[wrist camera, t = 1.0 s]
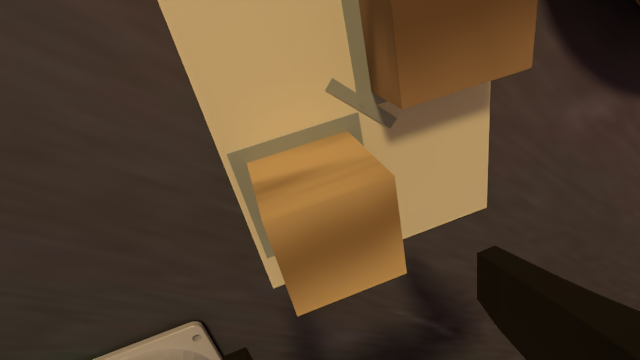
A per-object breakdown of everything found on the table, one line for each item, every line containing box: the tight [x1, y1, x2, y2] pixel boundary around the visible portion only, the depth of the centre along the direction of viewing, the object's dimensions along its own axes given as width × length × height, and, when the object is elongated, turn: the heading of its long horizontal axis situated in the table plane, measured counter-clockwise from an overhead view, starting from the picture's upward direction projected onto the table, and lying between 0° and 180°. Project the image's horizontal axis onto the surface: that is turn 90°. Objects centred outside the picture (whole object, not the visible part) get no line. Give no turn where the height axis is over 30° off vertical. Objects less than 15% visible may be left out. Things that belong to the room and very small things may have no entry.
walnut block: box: [358, 0, 538, 109], centre depth 14 cm, size 6×6×3 cm
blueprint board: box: [158, 0, 491, 288], centre depth 17 cm, size 18×14×1 cm
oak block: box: [247, 131, 407, 316], centre depth 16 cm, size 5×5×5 cm
